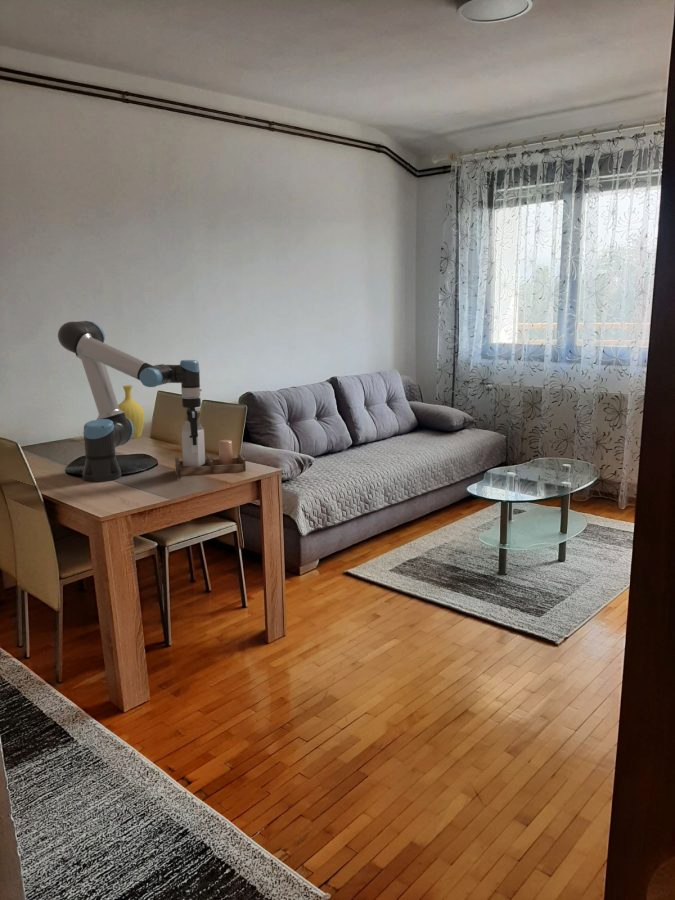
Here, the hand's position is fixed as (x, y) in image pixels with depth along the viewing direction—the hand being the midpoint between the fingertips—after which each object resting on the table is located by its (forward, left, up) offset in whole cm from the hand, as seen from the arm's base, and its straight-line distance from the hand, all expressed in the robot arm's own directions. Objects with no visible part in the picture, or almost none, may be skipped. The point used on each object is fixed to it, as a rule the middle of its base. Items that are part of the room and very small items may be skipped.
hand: (193, 450), depth 279 cm
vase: (-25, +93, -10) cm, 97 cm away
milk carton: (0, 0, -7) cm, 7 cm away
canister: (+13, 0, -9) cm, 16 cm away
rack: (+7, 0, -10) cm, 12 cm away
